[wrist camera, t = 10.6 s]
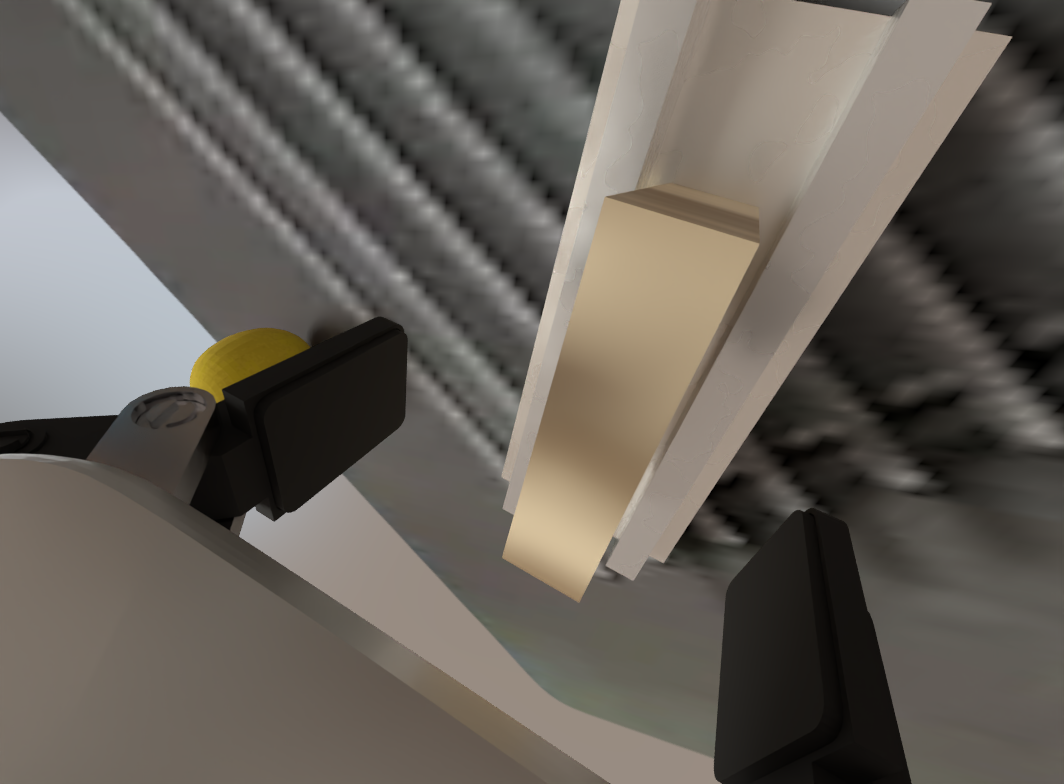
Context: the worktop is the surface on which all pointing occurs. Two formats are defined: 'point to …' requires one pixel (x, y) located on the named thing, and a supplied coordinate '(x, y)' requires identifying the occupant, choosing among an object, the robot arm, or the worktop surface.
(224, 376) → the lemon
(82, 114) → the worktop surface
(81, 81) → the worktop surface
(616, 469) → the tan wooden block
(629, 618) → the worktop surface
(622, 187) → the bottom track
